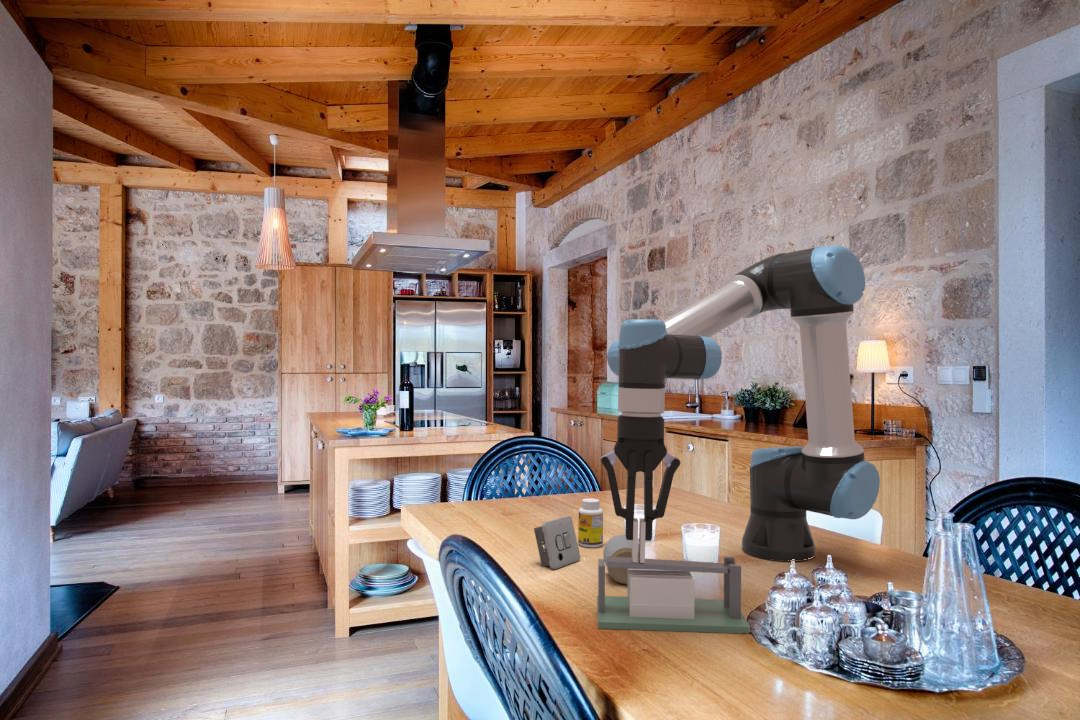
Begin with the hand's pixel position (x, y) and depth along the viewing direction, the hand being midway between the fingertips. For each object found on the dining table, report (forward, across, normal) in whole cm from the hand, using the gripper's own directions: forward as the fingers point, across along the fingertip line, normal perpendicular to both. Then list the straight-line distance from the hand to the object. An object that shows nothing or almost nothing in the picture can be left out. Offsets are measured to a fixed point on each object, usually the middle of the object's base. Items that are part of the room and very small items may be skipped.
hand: (638, 560), depth 109 cm
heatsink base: (+9, -5, 0) cm, 10 cm away
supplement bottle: (+9, +7, -43) cm, 45 cm away
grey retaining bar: (+1, -5, 0) cm, 6 cm away
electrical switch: (+9, +14, -28) cm, 33 cm away
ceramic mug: (+9, 0, -19) cm, 21 cm away
